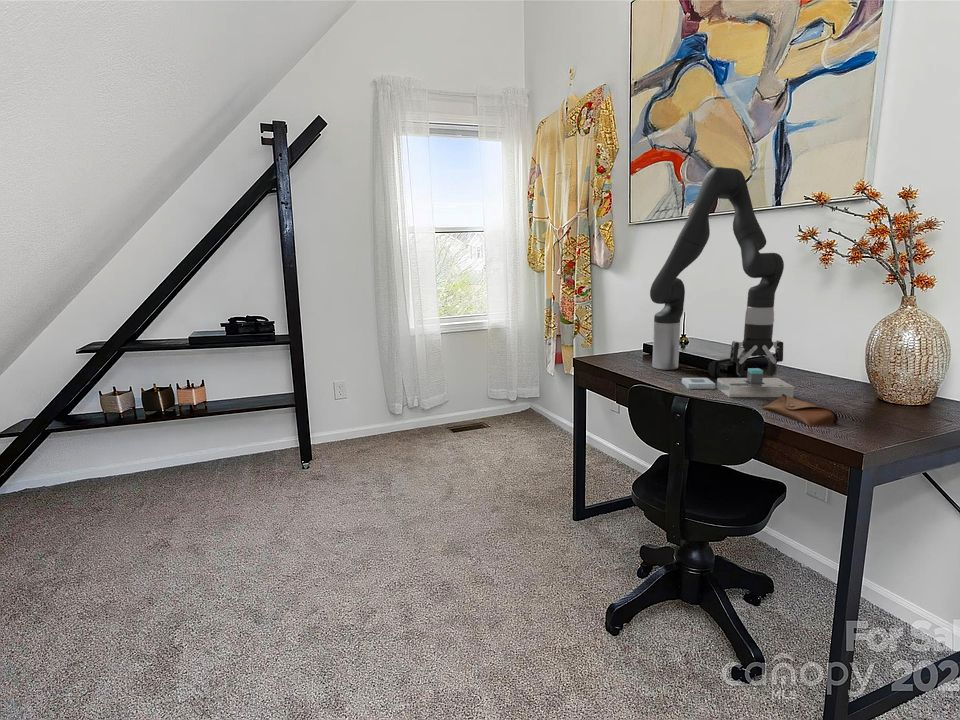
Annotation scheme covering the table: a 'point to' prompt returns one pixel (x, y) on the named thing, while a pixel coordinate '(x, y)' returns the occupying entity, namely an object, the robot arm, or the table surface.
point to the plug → (754, 376)
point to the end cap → (723, 368)
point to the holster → (698, 383)
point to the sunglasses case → (802, 411)
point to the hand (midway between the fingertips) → (754, 375)
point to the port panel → (754, 387)
